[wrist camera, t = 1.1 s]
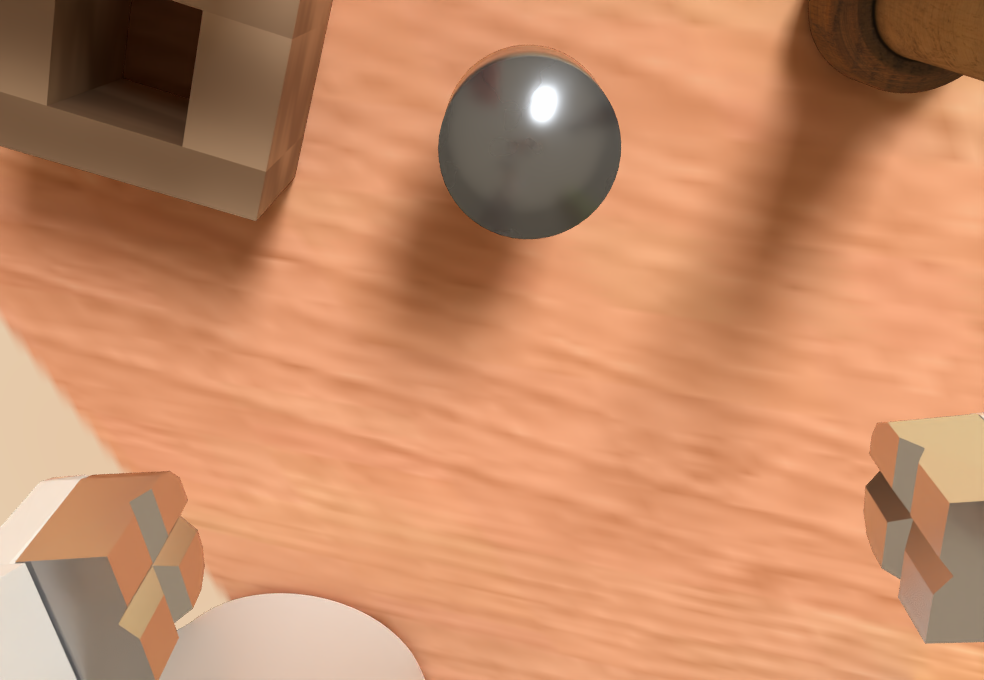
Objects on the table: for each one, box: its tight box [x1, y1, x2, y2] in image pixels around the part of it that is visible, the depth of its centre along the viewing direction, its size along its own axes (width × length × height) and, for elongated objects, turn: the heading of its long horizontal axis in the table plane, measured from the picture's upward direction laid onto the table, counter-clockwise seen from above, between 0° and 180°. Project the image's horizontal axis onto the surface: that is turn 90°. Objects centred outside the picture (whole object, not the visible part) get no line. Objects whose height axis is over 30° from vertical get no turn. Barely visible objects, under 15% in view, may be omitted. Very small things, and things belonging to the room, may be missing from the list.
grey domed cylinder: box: [438, 45, 621, 239], centre depth 29 cm, size 6×6×8 cm
